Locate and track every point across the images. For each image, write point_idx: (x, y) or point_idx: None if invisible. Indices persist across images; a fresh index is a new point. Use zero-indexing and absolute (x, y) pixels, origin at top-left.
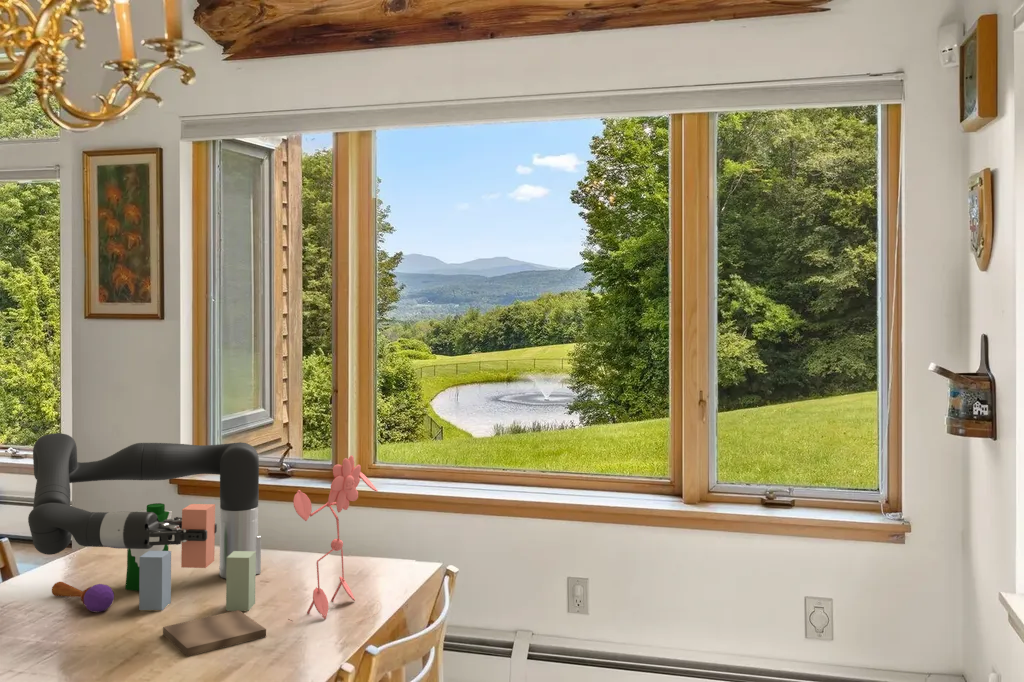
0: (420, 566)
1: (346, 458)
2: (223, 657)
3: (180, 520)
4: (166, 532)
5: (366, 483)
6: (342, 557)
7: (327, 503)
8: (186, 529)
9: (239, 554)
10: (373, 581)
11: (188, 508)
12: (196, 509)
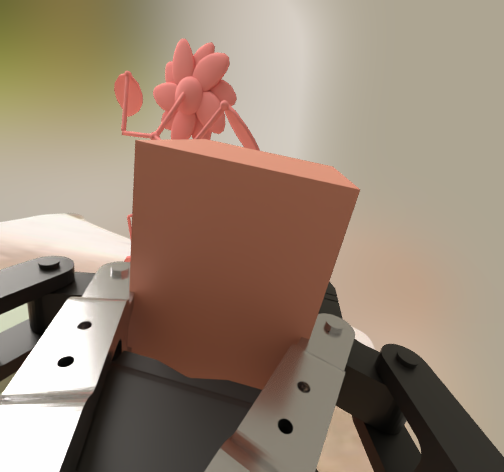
0: (48, 220)
1: (208, 43)
2: (352, 465)
3: (85, 329)
4: (483, 448)
5: (141, 100)
6: (131, 227)
7: (157, 135)
8: (327, 317)
9: (6, 325)
10: (65, 253)
11: (314, 174)
12: (334, 172)
